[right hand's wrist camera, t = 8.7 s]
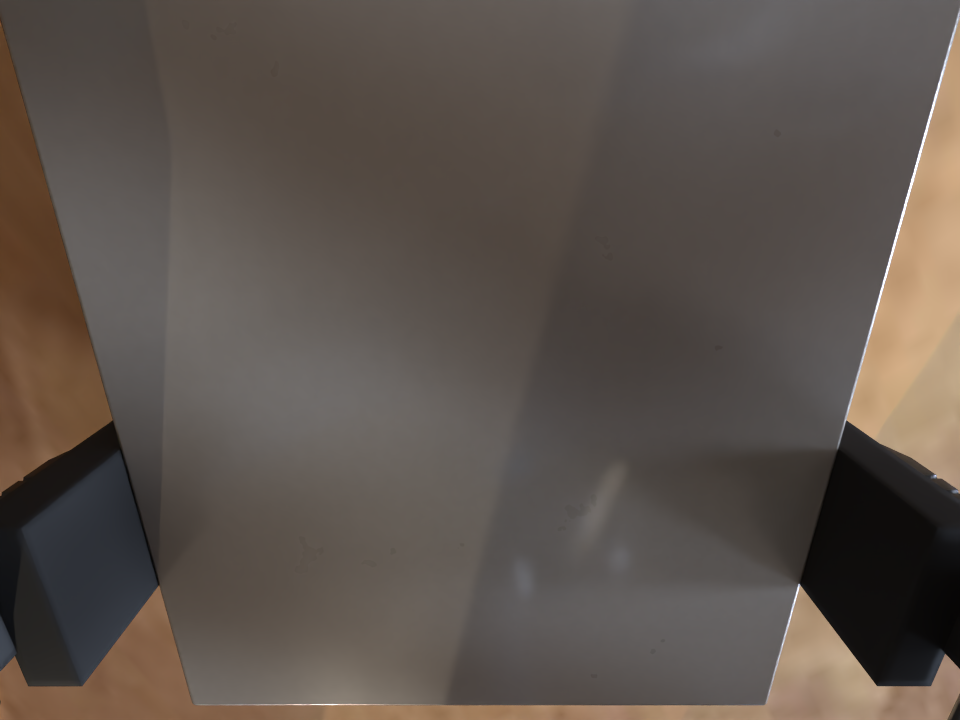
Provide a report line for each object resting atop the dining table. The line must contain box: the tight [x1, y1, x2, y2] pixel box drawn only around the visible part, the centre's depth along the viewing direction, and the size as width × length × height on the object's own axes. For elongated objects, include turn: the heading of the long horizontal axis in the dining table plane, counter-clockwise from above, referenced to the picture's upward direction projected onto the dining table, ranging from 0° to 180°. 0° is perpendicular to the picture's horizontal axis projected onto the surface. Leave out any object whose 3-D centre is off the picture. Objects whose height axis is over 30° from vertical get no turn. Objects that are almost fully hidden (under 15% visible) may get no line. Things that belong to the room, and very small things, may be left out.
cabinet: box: [0, 0, 960, 705], centre depth 11 cm, size 21×11×9 cm, turn 0°
